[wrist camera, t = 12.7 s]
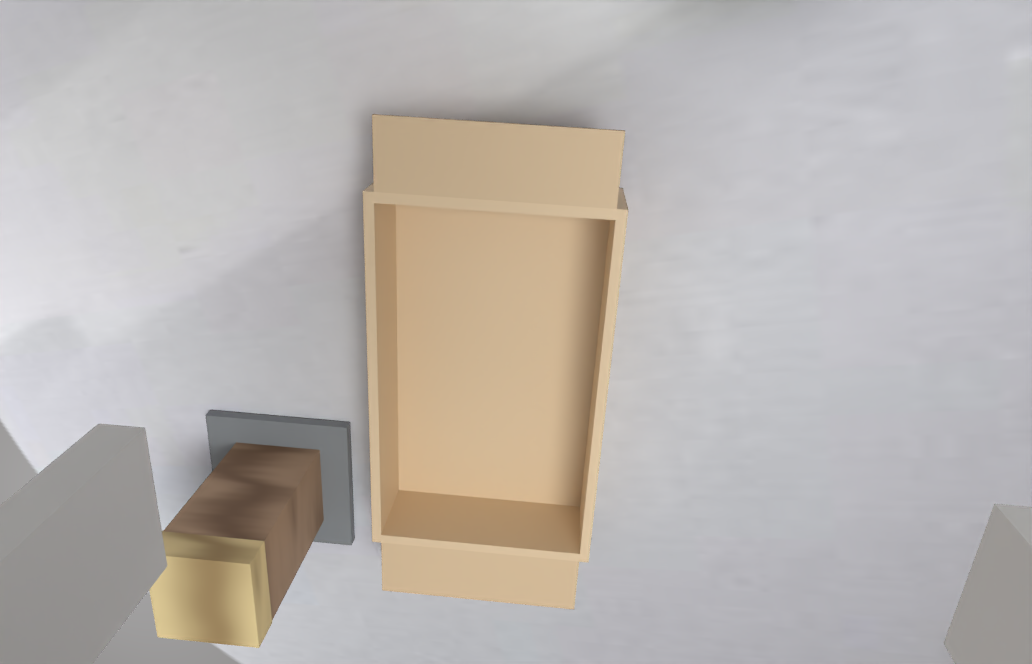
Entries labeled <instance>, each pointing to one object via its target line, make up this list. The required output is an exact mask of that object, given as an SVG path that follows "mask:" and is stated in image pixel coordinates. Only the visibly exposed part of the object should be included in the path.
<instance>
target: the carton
mask: <svg viewBox="0 0 1032 664" xmlns="http://www.w3.org/2000/svg"><path fill="white" fill-rule="evenodd" d="M624 137H625V130H610V129H594V128H579V127H563V126H548V125H532V124H517V123H502V122H486V121H471V120H455V119H440V118H424V117H409V116H394V115H378V114H373V115H372V138H373V184H371V185H370V186H369V187H367V188H366V189H365V190H364V191H363V221H364V257H365V293H366V329H367V366H368V402H369V438H370V474H371V510H372V542H381V549H382V590H385V591H395V592H405V593H415V594H425V595H435V596H445V597H455V598H465V599H475V600H485V601H495V602H505V603H515V604H525V605H535V606H545V607H555V608H565V609H574V604H575V595H576V585H577V576H578V567H579V562H588V561H589V552H590V543H591V534H592V526H593V517H594V508H595V499H596V490H597V481H598V473H599V464H600V455H601V446H602V437H603V428H604V419H605V411H606V402H607V393H608V384H609V375H610V366H611V358H612V349H613V340H614V331H615V322H616V313H617V305H618V296H619V287H620V278H621V269H622V260H623V252H624V243H625V234H626V225H627V216H628V207H627V203H626V199H625V195H624V191H623V188H619V184H620V174H621V165H622V156H623V146H624Z"/></svg>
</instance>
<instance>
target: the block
mask: <svg viewBox="0 0 1032 664" xmlns="http://www.w3.org/2000/svg"><path fill="white" fill-rule="evenodd" d="M323 521H324V515H323V498H322V481H321V464H320V450H315V449H304V448H293V447H282V446H271V445H260V444H249V443H237V442H236V443H235V444H234V446H233V447H232V448H231V449H230V451H229V452H228V453H227V454H226V455H225V457H224V458H223V459H222V460H221V462H220V463H219V464H218V465H217V466H216V468H215V469H214V470H213V471H212V472H211V474H210V475H209V476H208V477H207V479H206V480H205V481H204V482H203V483H202V485H201V486H200V487H199V488H198V490H197V491H196V492H195V493H194V494H193V496H192V497H191V498H190V499H189V500H188V502H187V503H186V504H185V505H184V507H183V508H182V509H181V510H180V511H179V513H178V514H177V515H176V516H175V517H174V519H173V520H172V521H171V522H170V524H169V525H168V526H167V527H166V528H165V530H164V531H162V536H163V542H164V548H165V554H166V560H167V567H166V569H165V570H164V571H163V573H162V574H161V575H160V576H159V578H158V579H157V580H156V582H155V583H154V584H153V586H152V587H151V588H150V596H151V602H152V607H153V613H154V619H155V624H156V630H157V636H158V637H161V638H170V639H179V640H189V641H199V642H208V643H218V644H227V645H237V646H246V647H256V648H259V647H260V645H261V643H262V641H263V639H264V637H265V635H266V634H267V632H268V630H269V628H270V626H271V624H272V620H273V618H274V616H275V614H276V612H277V610H278V608H279V606H280V604H281V602H282V600H283V598H284V596H285V594H286V592H287V590H288V589H289V587H290V585H291V583H292V581H293V579H294V577H295V575H296V573H297V571H298V569H299V567H300V565H301V563H302V561H303V560H304V558H305V556H306V554H307V552H308V550H309V548H310V546H311V544H312V542H313V540H314V538H315V536H316V534H317V532H318V531H319V529H320V527H321V525H322V523H323Z"/></svg>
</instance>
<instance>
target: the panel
mask: <svg viewBox="0 0 1032 664" xmlns="http://www.w3.org/2000/svg"><path fill="white" fill-rule="evenodd" d="M206 423H207V431H208V439H209V447H210V455H211V463H212V471H213V470H214V469H215V468H216V466H217V465H218V464H219V463H220V462H221V460H222V459H223V458H224V457H225V455H226V454H227V453H228V452H229V451H230V449H231V448H232V447H233V446H234V444H235V443H236V442H237V443H249V444H260V445H271V446H282V447H293V448H304V449H315V450H320V464H321V481H322V498H323V515H324V521H323V523H322V525H321V527H320V529H319V531H318V532H317V534H316V536H315V538H314V540H313V542H323V543H333V544H344V545H352V543H353V541H354V539H355V536H354V510H353V485H352V459H351V434H350V422H342V421H331V420H320V419H308V418H297V417H285V416H274V415H263V414H251V413H240V412H228V411H217V410H210V411H209V412H208V413H207V414H206Z"/></svg>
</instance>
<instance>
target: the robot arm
mask: <svg viewBox="0 0 1032 664" xmlns="http://www.w3.org/2000/svg"><path fill="white" fill-rule="evenodd" d="M166 567H167V560H166V554H165V548H164V542H163V536H162V529H161V523H160V517H159V511H158V505H157V499H156V493H155V486H154V480H153V474H152V468H151V462H150V456H149V449H148V443H147V437H146V431H145V428H142V427H130V426H119V425H108V424H98V425H96V426H95V427H94V428H93V429H92V430H90V431H89V432H88V433H87V434H85V435H84V436H83V437H82V438H81V439H79V440H78V441H77V442H76V443H75V444H73V445H72V446H71V447H70V448H69V449H67V450H66V451H65V452H64V453H63V454H61V455H60V456H59V457H58V458H57V459H55V460H54V461H53V462H52V463H51V464H49V465H48V466H47V467H46V468H45V469H43V470H42V471H41V472H40V473H39V474H37V475H36V476H35V477H34V478H32V479H31V480H30V481H29V482H28V483H27V484H25V485H24V486H23V487H22V488H21V489H19V490H18V491H17V492H16V493H14V494H13V495H12V496H11V497H10V498H8V499H7V500H6V501H5V502H4V503H2V504H1V505H0V664H93V663H94V662H95V661H96V659H97V658H98V656H99V655H100V654H101V653H102V651H103V650H104V649H105V647H106V646H107V645H108V643H109V642H110V641H111V639H112V638H113V637H114V636H115V634H116V633H117V631H118V630H119V629H120V628H121V626H122V625H123V624H124V622H125V621H126V620H127V618H128V617H129V616H130V615H131V613H132V612H133V611H134V609H135V608H136V607H137V605H138V604H139V603H140V601H141V600H142V599H143V597H144V596H145V595H146V594H147V592H148V591H149V590H150V588H151V587H152V586H153V584H154V583H155V582H156V580H157V579H158V578H159V576H160V575H161V574H162V573H163V571H164V570H165V569H166ZM944 645H945V647H946V648H947V650H948V652H949V653H950V655H951V657H952V659H953V660H954V662H955V664H1032V507H1025V506H1014V505H1003V504H994V507H993V509H992V512H991V515H990V518H989V520H988V523H987V526H986V529H985V531H984V534H983V537H982V539H981V542H980V545H979V548H978V550H977V553H976V556H975V559H974V561H973V564H972V567H971V570H970V572H969V575H968V578H967V581H966V583H965V586H964V589H963V592H962V594H961V597H960V600H959V603H958V605H957V608H956V611H955V613H954V616H953V619H952V622H951V624H950V627H949V630H948V633H947V635H946V638H945V641H944Z"/></svg>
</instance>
